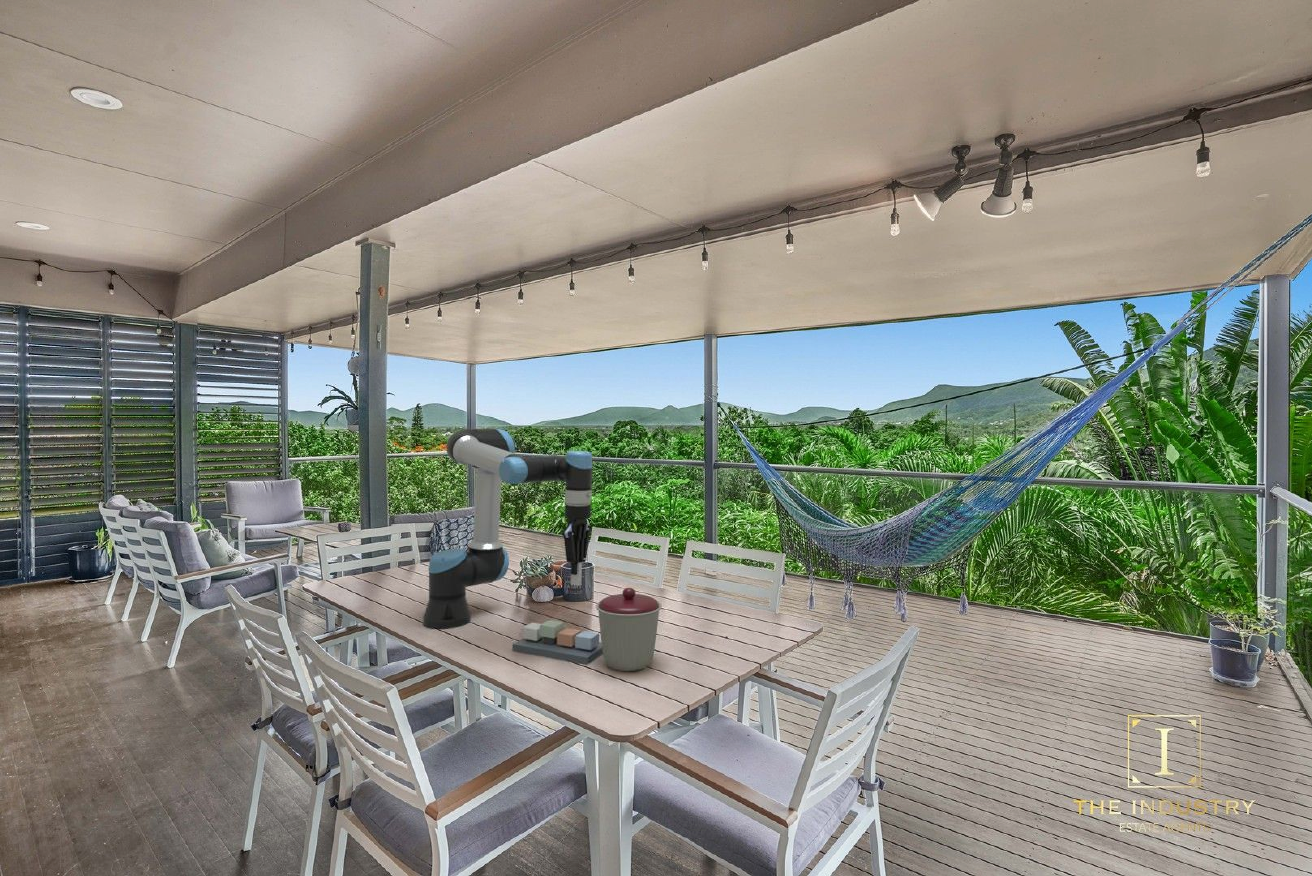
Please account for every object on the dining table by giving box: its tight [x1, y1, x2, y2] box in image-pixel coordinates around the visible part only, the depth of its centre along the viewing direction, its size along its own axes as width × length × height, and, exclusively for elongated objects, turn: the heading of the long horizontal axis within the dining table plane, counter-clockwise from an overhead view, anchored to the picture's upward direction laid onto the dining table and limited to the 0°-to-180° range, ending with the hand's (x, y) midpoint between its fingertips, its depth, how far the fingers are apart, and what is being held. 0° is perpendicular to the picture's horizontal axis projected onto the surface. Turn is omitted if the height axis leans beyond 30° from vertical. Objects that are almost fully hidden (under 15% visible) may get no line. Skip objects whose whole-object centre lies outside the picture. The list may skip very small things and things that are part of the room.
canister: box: [595, 587, 663, 672], centre depth 164 cm, size 18×18×21 cm
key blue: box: [575, 630, 600, 650], centre depth 170 cm, size 5×5×3 cm
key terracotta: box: [557, 627, 582, 647], centre depth 173 cm, size 5×5×3 cm
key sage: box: [540, 620, 565, 638], centre depth 175 cm, size 5×5×3 cm
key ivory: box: [521, 622, 543, 641], centre depth 177 cm, size 5×5×3 cm
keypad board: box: [511, 637, 603, 665], centre depth 174 cm, size 25×12×4 cm, turn 67°
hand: (576, 584), depth 174 cm, fingers closed
